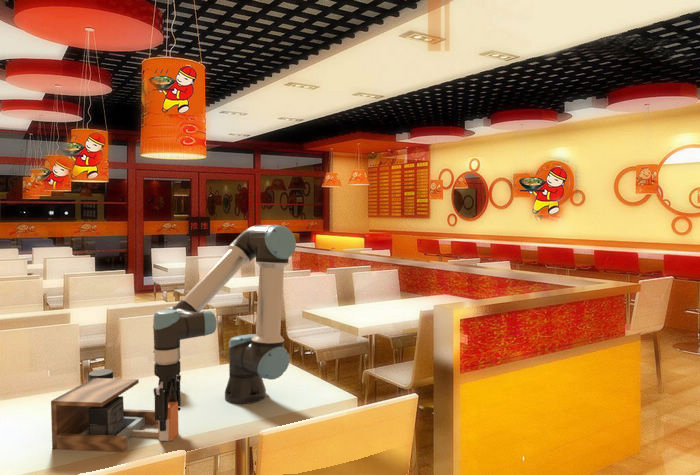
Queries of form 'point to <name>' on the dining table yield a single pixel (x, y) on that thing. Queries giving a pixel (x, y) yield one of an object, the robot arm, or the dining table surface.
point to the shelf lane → (73, 415)
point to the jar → (101, 374)
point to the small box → (107, 418)
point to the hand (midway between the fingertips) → (168, 436)
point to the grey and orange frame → (138, 422)
